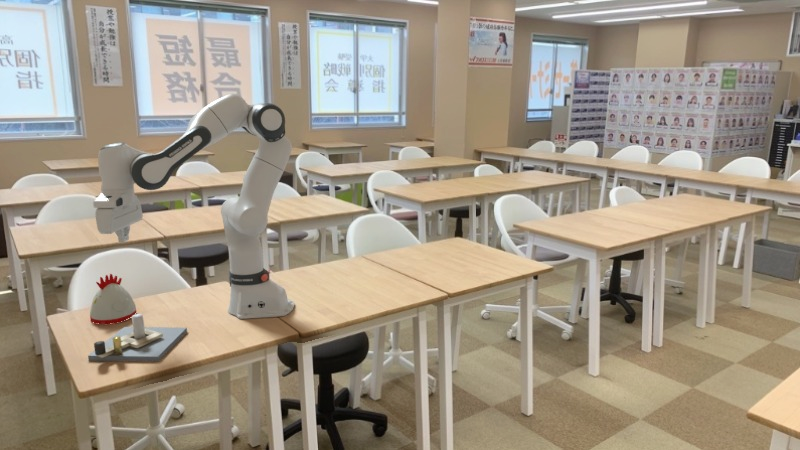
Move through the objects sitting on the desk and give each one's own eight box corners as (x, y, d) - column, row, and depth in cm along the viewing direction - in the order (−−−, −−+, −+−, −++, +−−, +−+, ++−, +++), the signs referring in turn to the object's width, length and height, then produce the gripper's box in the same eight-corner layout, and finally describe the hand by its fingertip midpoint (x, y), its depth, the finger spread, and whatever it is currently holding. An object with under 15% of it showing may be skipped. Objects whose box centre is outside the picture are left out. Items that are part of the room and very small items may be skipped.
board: (187, 331, 175) (184, 303, 173) (158, 361, 155) (155, 330, 153) (124, 331, 175) (121, 303, 173) (88, 360, 156) (84, 329, 154)
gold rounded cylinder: (123, 352, 157) (121, 336, 156) (120, 355, 155) (118, 339, 154) (117, 352, 157) (114, 336, 156) (113, 355, 155) (111, 339, 154)
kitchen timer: (82, 318, 185) (76, 276, 182) (122, 306, 197) (117, 265, 193) (105, 328, 178) (99, 284, 174) (144, 314, 189) (140, 272, 186)
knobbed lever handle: (142, 330, 171) (141, 318, 170) (163, 336, 167) (161, 324, 166) (86, 354, 155) (84, 341, 154) (107, 361, 151) (105, 348, 150)
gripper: (125, 191, 178) (130, 233, 181) (89, 203, 158) (95, 249, 161) (145, 191, 177) (149, 233, 181) (111, 203, 157) (116, 250, 161)
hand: (123, 241), depth 170 cm, fingers closed
